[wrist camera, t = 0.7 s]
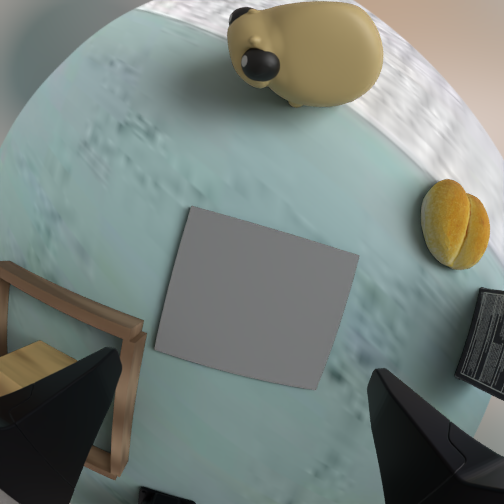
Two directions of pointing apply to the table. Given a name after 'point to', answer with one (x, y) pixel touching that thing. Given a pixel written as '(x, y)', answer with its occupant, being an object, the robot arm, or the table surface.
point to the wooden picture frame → (105, 320)
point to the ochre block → (30, 366)
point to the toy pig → (307, 51)
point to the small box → (485, 345)
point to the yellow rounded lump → (454, 225)
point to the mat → (254, 300)
